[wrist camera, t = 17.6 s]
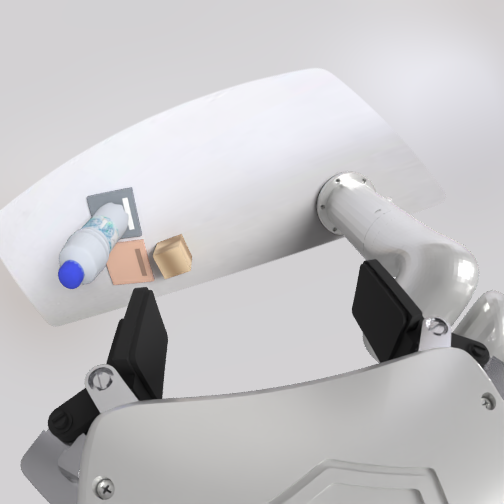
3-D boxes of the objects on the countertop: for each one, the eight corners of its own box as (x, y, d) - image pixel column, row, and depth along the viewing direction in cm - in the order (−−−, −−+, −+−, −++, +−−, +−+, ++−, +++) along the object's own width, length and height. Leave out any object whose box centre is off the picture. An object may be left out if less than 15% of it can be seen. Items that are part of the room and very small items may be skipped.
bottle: (121, 239, 47) (80, 311, 30) (93, 219, 44) (40, 282, 27) (139, 212, 45) (98, 278, 28) (109, 191, 42) (53, 245, 25)
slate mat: (131, 187, 43) (130, 188, 43) (142, 234, 48) (141, 235, 47) (88, 196, 43) (86, 197, 42) (100, 240, 47) (98, 242, 46)
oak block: (181, 233, 49) (178, 246, 45) (192, 256, 52) (190, 270, 47) (157, 242, 49) (152, 256, 45) (168, 264, 52) (165, 279, 47)
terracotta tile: (143, 239, 48) (142, 240, 48) (154, 279, 53) (153, 281, 52) (101, 244, 48) (100, 246, 47) (114, 283, 52) (113, 285, 51)
